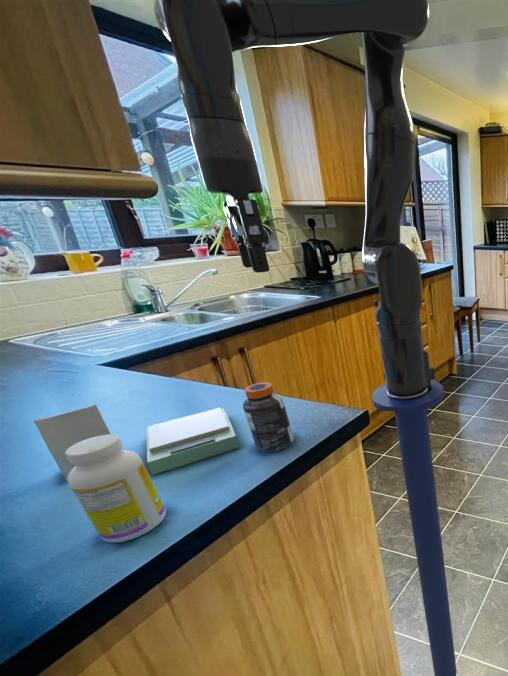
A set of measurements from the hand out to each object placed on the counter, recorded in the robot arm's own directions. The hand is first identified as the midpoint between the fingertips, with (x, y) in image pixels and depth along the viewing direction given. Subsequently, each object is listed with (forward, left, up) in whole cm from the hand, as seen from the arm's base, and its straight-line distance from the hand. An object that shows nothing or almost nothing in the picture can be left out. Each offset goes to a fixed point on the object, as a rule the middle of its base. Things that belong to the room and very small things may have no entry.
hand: (256, 269), depth 66 cm
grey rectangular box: (+29, -7, -29) cm, 42 cm away
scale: (+16, -4, -29) cm, 34 cm away
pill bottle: (+5, +6, -29) cm, 30 cm away
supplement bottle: (+24, +16, -29) cm, 41 cm away
